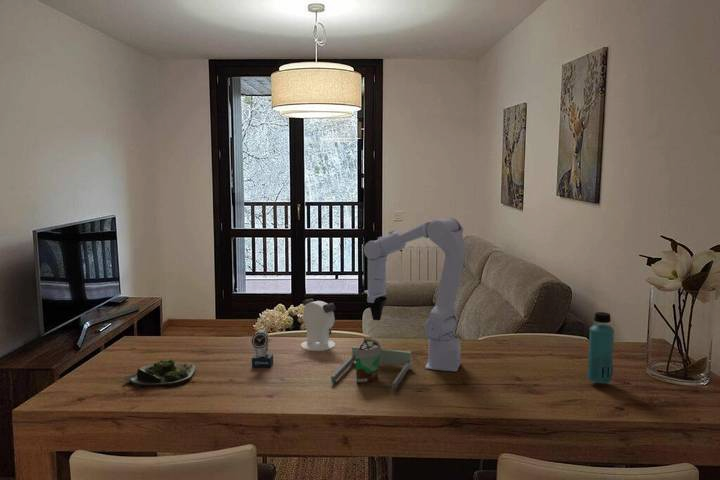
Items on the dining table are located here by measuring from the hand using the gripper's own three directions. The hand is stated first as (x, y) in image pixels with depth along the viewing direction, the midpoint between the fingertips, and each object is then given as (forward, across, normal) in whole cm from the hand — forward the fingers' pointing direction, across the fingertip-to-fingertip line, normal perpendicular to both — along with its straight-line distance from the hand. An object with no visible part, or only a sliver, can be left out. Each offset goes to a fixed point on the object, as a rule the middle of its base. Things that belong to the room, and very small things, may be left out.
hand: (376, 319), depth 192 cm
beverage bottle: (+11, +10, +66) cm, 68 cm away
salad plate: (+11, +40, -52) cm, 67 cm away
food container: (+11, +24, +5) cm, 27 cm away
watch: (+11, +23, -29) cm, 39 cm away
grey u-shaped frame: (+10, +22, +5) cm, 25 cm away
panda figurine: (+11, 0, -20) cm, 23 cm away
